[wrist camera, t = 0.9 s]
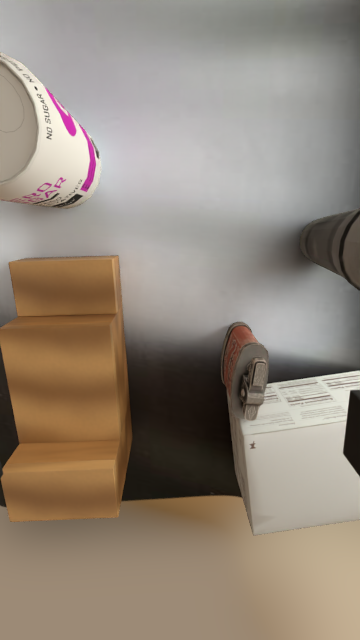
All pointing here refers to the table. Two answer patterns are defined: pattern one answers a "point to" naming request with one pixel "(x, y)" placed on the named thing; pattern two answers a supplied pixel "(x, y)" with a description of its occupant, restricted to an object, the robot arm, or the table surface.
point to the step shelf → (67, 389)
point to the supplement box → (297, 455)
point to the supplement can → (41, 144)
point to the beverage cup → (335, 244)
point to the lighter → (244, 370)
